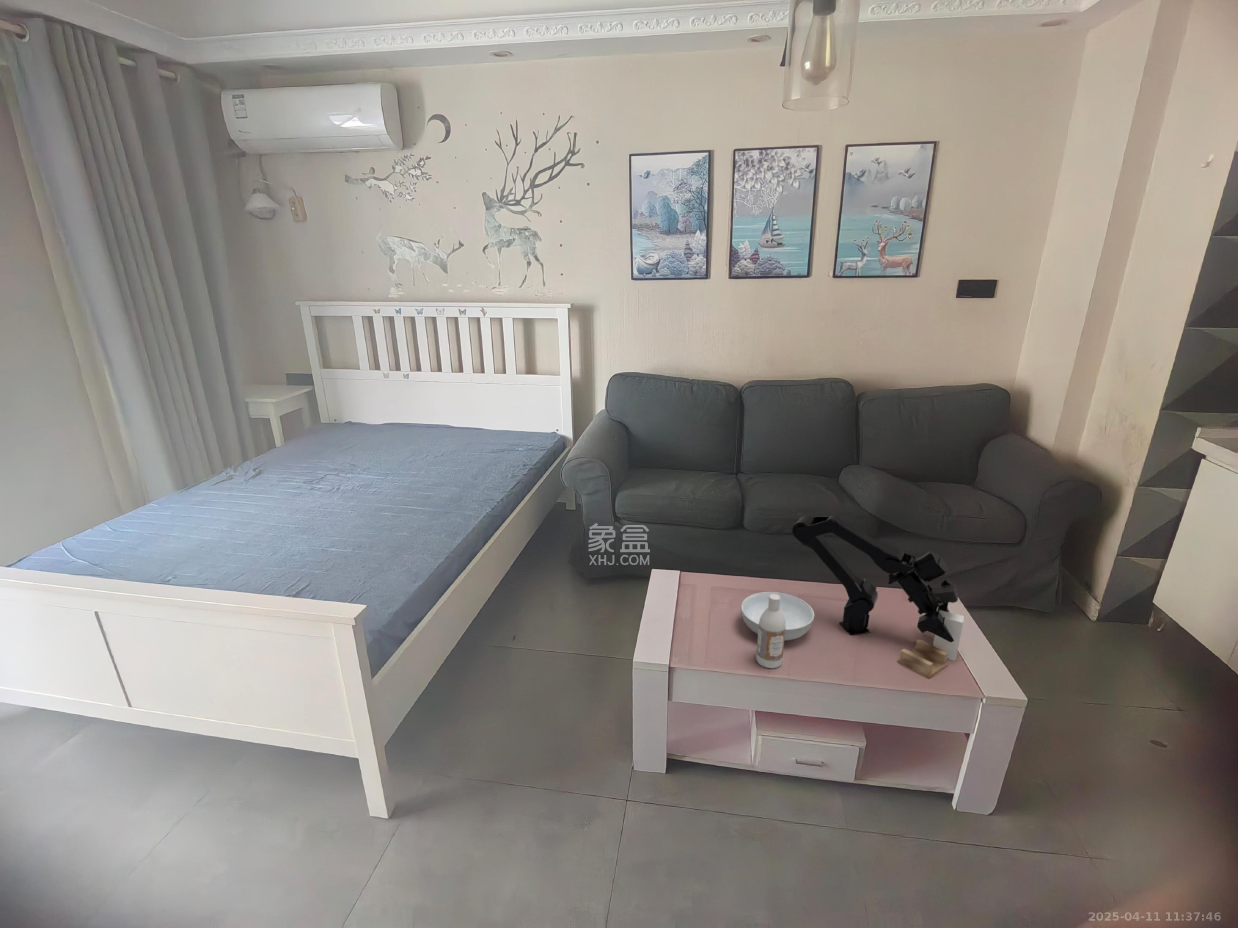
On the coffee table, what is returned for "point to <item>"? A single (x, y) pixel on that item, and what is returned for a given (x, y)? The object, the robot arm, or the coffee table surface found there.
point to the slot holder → (924, 659)
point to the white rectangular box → (955, 628)
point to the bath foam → (771, 635)
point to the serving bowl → (791, 607)
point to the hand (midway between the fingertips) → (953, 634)
